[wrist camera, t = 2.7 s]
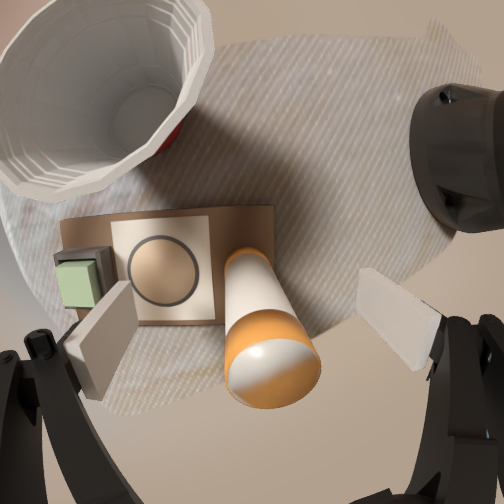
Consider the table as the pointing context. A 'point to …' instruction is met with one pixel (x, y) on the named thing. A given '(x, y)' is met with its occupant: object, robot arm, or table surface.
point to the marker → (264, 336)
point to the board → (169, 256)
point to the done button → (79, 283)
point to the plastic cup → (97, 91)
